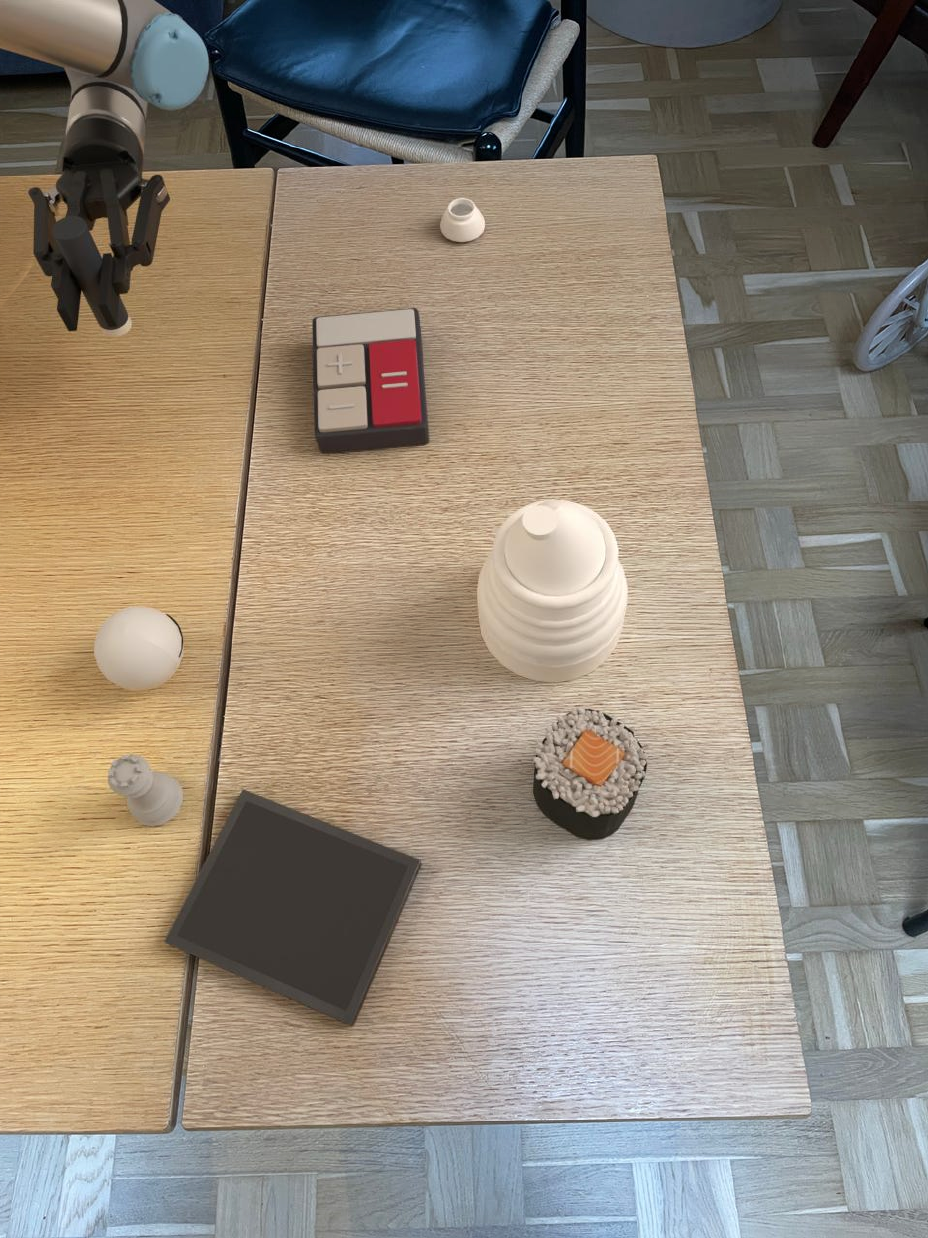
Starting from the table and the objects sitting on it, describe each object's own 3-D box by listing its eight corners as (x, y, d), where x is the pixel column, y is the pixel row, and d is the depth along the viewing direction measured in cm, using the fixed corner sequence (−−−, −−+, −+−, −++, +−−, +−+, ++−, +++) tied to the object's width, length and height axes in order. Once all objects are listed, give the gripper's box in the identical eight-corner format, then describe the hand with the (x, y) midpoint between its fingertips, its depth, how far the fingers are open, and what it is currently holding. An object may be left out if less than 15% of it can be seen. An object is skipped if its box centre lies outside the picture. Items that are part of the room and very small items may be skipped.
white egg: (197, 695, 86) (171, 660, 79) (113, 711, 86) (80, 677, 79) (191, 597, 91) (166, 556, 84) (111, 612, 90) (79, 572, 84)
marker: (96, 333, 97) (45, 234, 86) (112, 311, 98) (63, 212, 88) (122, 340, 96) (73, 242, 86) (137, 319, 98) (92, 220, 87)
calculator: (312, 432, 94) (310, 311, 100) (320, 458, 98) (318, 339, 104) (426, 422, 94) (417, 301, 100) (430, 448, 98) (421, 330, 104)
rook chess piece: (189, 776, 83) (158, 743, 75) (179, 828, 80) (147, 799, 73) (137, 774, 83) (101, 742, 76) (126, 827, 81) (89, 798, 74)
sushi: (567, 724, 83) (572, 686, 76) (654, 777, 81) (667, 744, 74) (514, 801, 80) (514, 769, 73) (602, 858, 78) (611, 832, 71)
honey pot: (556, 711, 84) (566, 613, 68) (449, 620, 88) (433, 508, 72) (652, 612, 88) (682, 497, 72) (544, 530, 92) (550, 405, 76)
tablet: (168, 944, 76) (162, 941, 75) (246, 793, 82) (242, 788, 80) (353, 1027, 73) (350, 1025, 72) (422, 863, 78) (420, 860, 77)
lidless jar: (436, 241, 110) (479, 247, 110) (434, 220, 108) (478, 225, 107) (446, 210, 112) (489, 216, 112) (445, 189, 110) (488, 194, 109)
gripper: (194, 171, 103) (187, 338, 92) (41, 187, 103) (17, 356, 92) (172, 105, 96) (162, 276, 86) (9, 122, 96) (-22, 296, 85)
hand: (87, 317), depth 89 cm, fingers closed on marker, 3 cm apart
